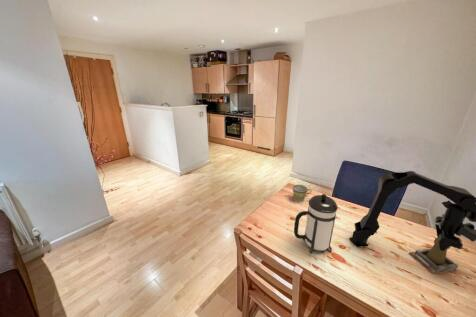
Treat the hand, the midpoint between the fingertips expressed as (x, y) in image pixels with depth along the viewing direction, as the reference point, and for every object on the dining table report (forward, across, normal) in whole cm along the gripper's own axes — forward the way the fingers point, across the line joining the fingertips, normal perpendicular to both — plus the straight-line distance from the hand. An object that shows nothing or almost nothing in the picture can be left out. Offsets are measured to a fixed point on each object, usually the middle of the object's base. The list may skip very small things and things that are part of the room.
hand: (440, 246), depth 89 cm
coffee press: (+10, -23, +47) cm, 54 cm away
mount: (+9, 0, +1) cm, 9 cm away
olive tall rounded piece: (+8, 0, 0) cm, 8 cm away
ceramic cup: (+10, +14, +69) cm, 71 cm away
